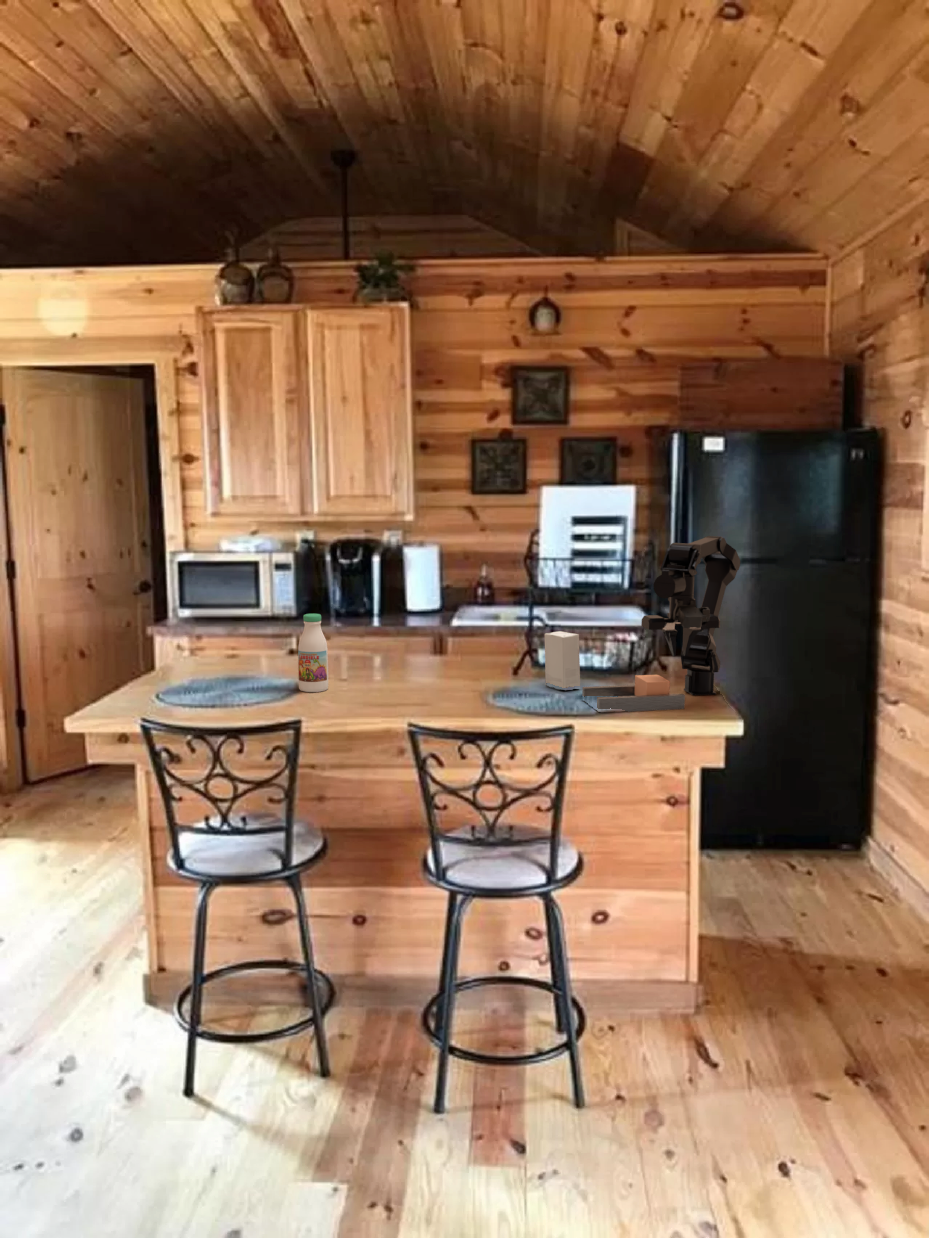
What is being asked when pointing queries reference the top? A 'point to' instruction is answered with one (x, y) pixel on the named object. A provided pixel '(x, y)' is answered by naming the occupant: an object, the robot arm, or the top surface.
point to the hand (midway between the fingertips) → (679, 655)
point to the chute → (633, 699)
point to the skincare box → (562, 659)
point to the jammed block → (651, 685)
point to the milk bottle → (313, 656)
